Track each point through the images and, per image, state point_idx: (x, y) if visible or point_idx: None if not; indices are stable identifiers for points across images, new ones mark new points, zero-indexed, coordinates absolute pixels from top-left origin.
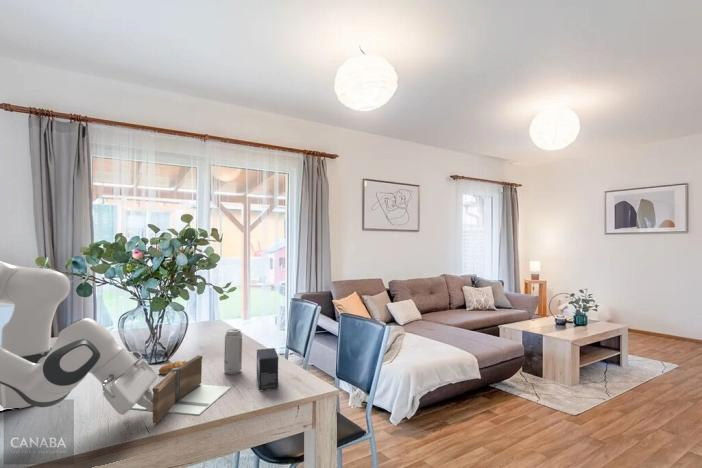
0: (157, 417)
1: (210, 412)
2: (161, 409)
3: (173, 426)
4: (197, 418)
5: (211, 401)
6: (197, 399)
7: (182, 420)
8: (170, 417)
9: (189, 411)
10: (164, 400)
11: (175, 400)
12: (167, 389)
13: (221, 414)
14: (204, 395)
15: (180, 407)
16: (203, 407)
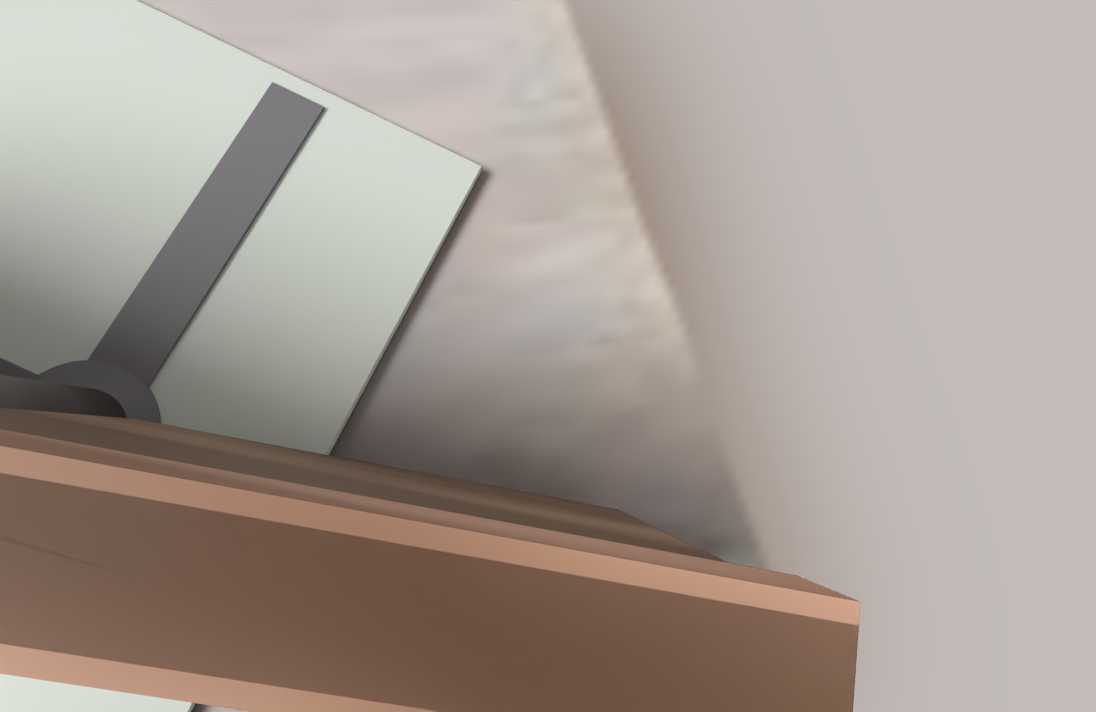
0: (630, 517)
1: (447, 82)
2: (531, 501)
3: (642, 362)
4: (538, 181)
5: (217, 64)
6: (103, 195)
7: (545, 301)
8: (452, 418)
9: (396, 251)
10: (434, 491)
11: (102, 415)
12: (278, 478)
13: (512, 2)
14: (10, 130)
15: (265, 348)
16: (341, 133)
